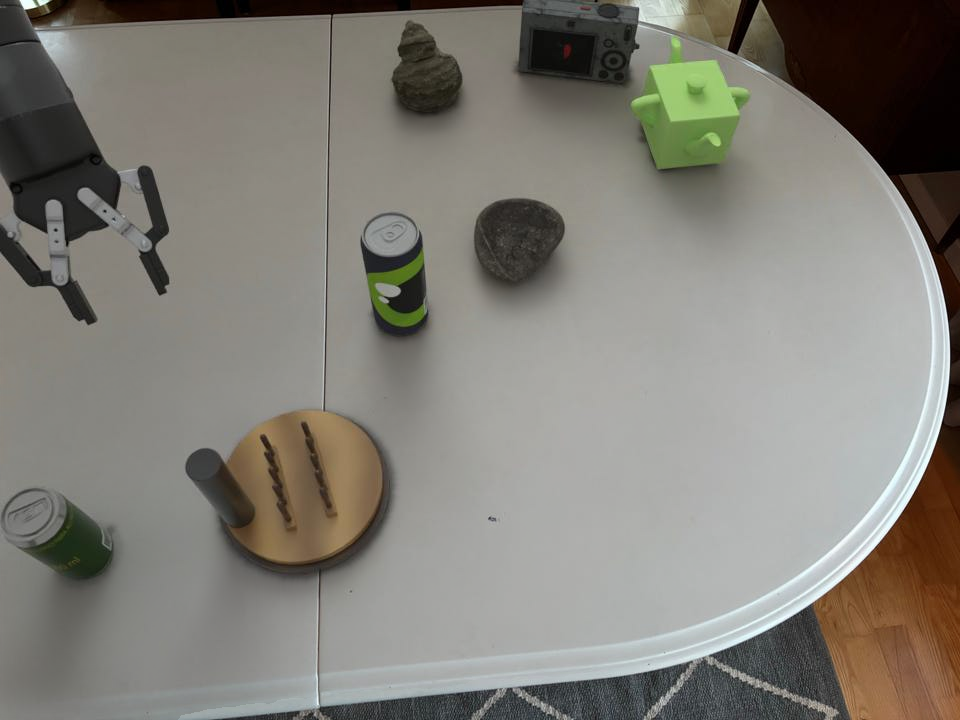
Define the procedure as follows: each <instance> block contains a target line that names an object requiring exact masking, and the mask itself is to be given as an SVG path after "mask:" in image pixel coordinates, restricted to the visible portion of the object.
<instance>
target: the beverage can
mask: <svg viewBox="0 0 960 720" xmlns="http://www.w3.org/2000/svg"><path fill="white" fill-rule="evenodd" d="M359 242H360V243H359V244H360V250H361V255H362V260H363V265H364V271H365V275H366V280H367V281H366V282H367V286H368V290H369V297H370V302H371V303H370V304H371V307H372V313H373V318H374V322H375V323H376V325H377V327H378V328H379V329H380V330H381V331H383V332H385V333H387V334H388V335H392V336H397V337H398V336H399V337H403V336H408V335H412V334H414V333H416V332H418V331H419V330H420V329H422V327H423V326H424V325H425V324H426V322H427V320H428V318H429V304H428V303H429V302H428V292H427V280H426V266H425V253H424V242H423V234H422V231H421V230H420V228H419V226H418V223H417V221H416V220H415V219H414V218H413V217H411V215H409V214H406V213H404V212H401V211H396V210H388V211H382V212H379V213H377V214H374V215H373V216H371V217H370V218H368V220H367V221H366V222H365V223H364V225H363V227H362V229H361V235H360V240H359Z"/></svg>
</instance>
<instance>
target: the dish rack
mask: <svg viewBox="0 0 960 720" xmlns="http://www.w3.org/2000/svg"><path fill="white" fill-rule="evenodd" d="M336 414H337V413H332V412H329V411H324V410H314V409H311V410H310V409H309V410H304V409H303V410H298V411H292V412H288V413H287V412H286V413H283V414H280V415H277V416H274V417H272V418H271V419H269V420H267V421H264V422H263V423H261V424H260V425H258V426H257V427H255V428H254V429H253V430H252V431H250V432H249V433H248V434H247V435H246V436H245V437H243V439H242V440H241V441H240V442H239V443H238V444H237V446H236V447H235V448H234V450H233V451H232V453H231V455H230V456H229V458H228V459H227V462H225V460H224V459H223V457H222V456H221V455H220V453H219V452H218V451H216V450H215V449H214V448H211V447H201V448H199V449H197V450H195V451H193V452H191V453H190V455H189V456H188V457H187V459H186V461H185V465H184V470H185V471H184V472H185V473H186V475H187V477H188V478H189V479H190V481H192V483H193V484H194V485H195V486H196V488H197V489H198V490H199V491H200V493H201V494H202V495H203V496H204V498H205V499H206V500H207V501H208V503H209V504H210V505H211V506H212V507H213V509H214V510H215V511H216V513H218V515H219V517H220V516H221V517H222V518H223V520H224V521H225V522H226V523H227V526H228V528H229V529H230V531H231V532H232V534H233V535H234V536H235V537H236V539H237V540H238V541H239V542H240V543H241V544H242V545H243V546H244V547H245V548H246V549H248V550H249V551H250V552H252V553H253V554H255V555H257V556H259V557H261V558H263V559H266V560H268V561H271V562H275V563H279V564H288V565H301V564H308V563H314V562H317V561H321V560H324V559H326V558H329V557H331V556H334V555H335V554H337V553H339V552H341V551H342V550H344V549H345V548H347V547H348V546H349V545H351V544H352V543H353V542H354V541H355V540H357V539H358V538H359V537H360V536H361V535H362V533H363V532H364V531H365V530H366V529H367V527H368V526H369V524H370V523H371V521H372V520H373V518H374V516H375V514H376V512H377V510H378V507H379V504H380V501H381V496H382V491H383V472H382V467H381V462H380V458H379V455H378V453H377V451H376V448H375V446H374V445H373V443H372V441H371V440H370V439H369V437H368V436H367V435H366V434H365V433H364V432H363V431H362V430H361V429H360V428H359V427H358V426H357V425H355V424H354V423H352V422H351V421H352V420H351V421H349V420H350V419H349V420H347V419H348V418H347V419H345V418H346V417H345V418H343V417H344V416H342V415H339V414H337V415H336ZM338 415H339V416H338ZM341 416H342V417H341Z"/></svg>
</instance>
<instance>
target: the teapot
mask: <svg viewBox="0 0 960 720" xmlns="http://www.w3.org/2000/svg"><path fill="white" fill-rule="evenodd" d="M682 49H683V48H682V43H681V40H680V39H679V37H677V36H676V35H672V36H671V37H670V56H669V60H668V63H665V64H663V63H662V64H654V65H653V64H652V65H649V66H648V71H647V75H646V79H645V83H644V88H643V91H642V96H639V97H637V98H635V99H633V101H632V102H631V104H630V110H631V112H632V114H633V116H634V117H635V118H636V119H637V120H639V121H640V123H641V126H642V129H643V132H644V135H645V138H646V140H647V143H648V146H649V150H650V152H651V155H652V158H653V162H654V164H655V167H656V170H664V169H674V168H685V167H694V166H695V167H696V166H703V165H704V166H705V165H715V164H716V165H717V164H723V163H724V161H725V159H726V156H727V153H728V151H729V148H730V145H731V143H732V140H733V137H734V135H735V132H736V129H737V127H738V124H739V122H740V119H741V114H740V111H739V110H740V109H742V108H743V107H744V106H746V104H747V103H748V102H749V101H750V99H751V93H750V91H749V90H748V89H746V88H743V87H737V86H736V87H735V86H734V87H732V86H731V87H729V85H728V83H727V81H726V79H725V77H724V74H723V72H722V69H721V68H720V65H719V63H718V61H717V59H709V60H697V61H686V62H685V61H684V59H683V50H682Z"/></svg>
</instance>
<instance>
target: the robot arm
mask: <svg viewBox="0 0 960 720" xmlns="http://www.w3.org/2000/svg"><path fill="white" fill-rule="evenodd" d="M55 63H56V62H54V60H53V59H52V58H51V56H50V55H49V52H48V51H47V50H46V48H45V46H44V45H43V43H42V41H41V39H40V37H39V35H38V33H37V31H36V29H35V27H34V24H32V21H31V20H30V17H29V14H27V11H26V10H25V8H24V6H23V4H22V2H21V0H0V175H1V177H2V178H3V180H4V182H5V184H6V186H7V187H8V190H9V191H10V193H11V197H12V211H10V212H9V213H7V214H5V215H4V216H2V217H0V254H1V255H2V256H3V257H4V259H5V260H6V261H7V262H8V264H9V265H10V266H11V267H12V268H13V269H14V271H16V273H17V274H18V276H19V277H20V278H21V279H22V281H24V282H25V283H26V285H27V286H29V287H31V288H39V287H52V288H55V289H56V290H57V291H58V292H59V294H60V296H61V297H62V299H63V301H64V303H65V304H66V307H67V308H68V310H69V311H70V314H71V315H72V317H73V318H74V319H75V320H76V321H77V322H82V321H85V323H86V325H87V326H90V325H93V324H95V323H97V322H98V320H99V319H98V317H97V315H96V313H95V311H94V309H93V307H92V305H91V304H90V301H89V300H88V298H87V296H86V294H85V292H84V291H83V289H82V287H81V286H80V283H79V282H78V280H76V279H75V280H74V278H73V277H72V266H71V265H72V262H71V242H73V241H76V240H78V239H81V238H83V237H84V236H85V235H86V234H88V233H90V232H97V231H98V232H99V231H101V230H104V229H106V228H109V227H111V228H112V229H113V230H114V231H116V233H118V234H119V235H121V236H122V237H124V239H126V240H127V241H128V242H129V243H131V244H132V245H133V246H134V247H135V248H136V249H137V251H138V253H139V255H138V258H139V260H140V262H141V264H142V265H143V268H144V270H145V271H146V273H147V275H148V277H149V280H150V281H151V283H152V285H153V287H154V290H155V291H156V293H157V295H158V296H159V297H161V296H163V295H166V294H167V293H168V290H167V288H166V286H169V285H170V276H169V274H168V271H167V270H166V268H165V266H164V263H163V262H162V260H161V258H160V256H159V254H158V252H157V245H158V243H159V242H160V241H161V240H163V239H164V238H165V237H166V236H168V235H169V233H170V227H169V223H168V220H167V216H166V213H165V209H164V205H163V202H162V198H161V196H160V192H159V189H158V188H159V187H158V185H157V182H156V181H157V180H156V178H155V174H154V171H153V169H152V168H151V166H148V165H146V164H145V165H144V164H143V165H140V166H139V167H137V168H133V169H126V170H121V171H117V170H116V169H115V168H114V167H112V166H111V165H110V164H109V163H108V162H107V161H106V159H105V157H104V156H103V153H102V152H101V149H100V147H99V145H98V144H97V141H96V140H95V137H94V136H93V134H92V132H91V130H90V128H89V126H88V124H87V121H86V119H85V118H84V116H83V114H82V112H81V110H80V108H79V106H78V105H77V102H76V100H75V97H74V94H73V91H72V90H71V88H70V87H69V86H68V85H67V83H66V81H65V78H64V77H63V75H62V73H61V71H60V70H59V68H58V66H57V65H56V64H55ZM122 184H126V185H128V186H129V187H130V189H131V191H132V192H133V193H135V194H136V195H143V199H144V202H145V204H146V205H145V206H146V208H147V211H148V215H149V218H150V222H151V226H152V227H151V228H150V229H148V230H147V231H146V232H145V233H144V232H143V231H142V230H141V229H139V227H137V226H136V225H135V224H134V223H133V222H132V221H130V220H129V219H128V218H127V217H126V216H124V215H123V213H121V212H120V211H119V210H118V204H119V199H120V193H121V189H122ZM22 222H24V223H25V224H27V225H29V226H31V227H33V228H34V229H37V230H39V231H41V232H43V233H44V234H46V235H47V243H48V255H49V260H50V269H44V270H43V269H42V268H40V266H39V265H38V264H37V262H36V261H35V260H34V259H33V258H32V256H31V255H30V254H29V253H28V252H27V250H26V249H25V248H24V247H23V246H22V244H21V243H20V241H21V239H22V238H23V232H22V231H21V228H20V225H21V223H22Z"/></svg>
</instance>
